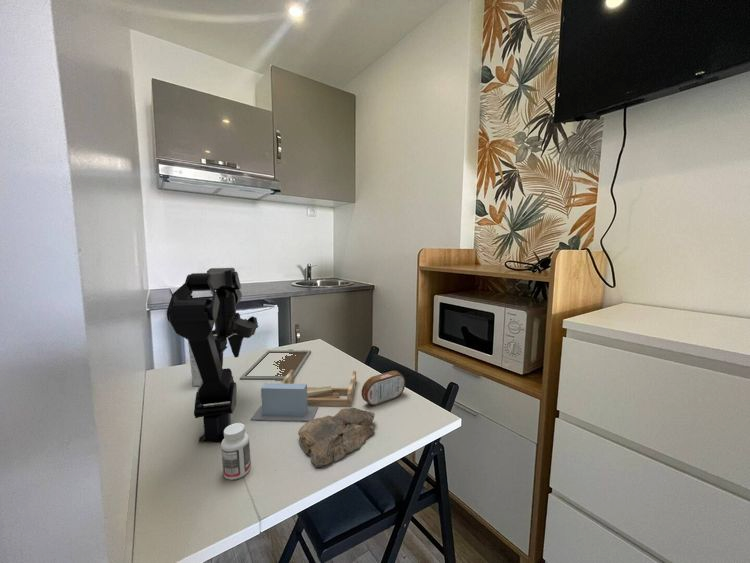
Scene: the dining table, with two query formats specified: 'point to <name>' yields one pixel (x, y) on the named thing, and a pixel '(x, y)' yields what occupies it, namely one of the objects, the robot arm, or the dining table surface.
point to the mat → (306, 418)
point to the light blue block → (284, 399)
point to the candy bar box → (195, 368)
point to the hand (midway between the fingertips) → (228, 363)
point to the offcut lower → (330, 396)
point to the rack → (332, 401)
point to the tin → (383, 387)
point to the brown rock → (335, 435)
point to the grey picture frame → (281, 365)
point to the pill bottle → (235, 451)
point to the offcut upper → (319, 392)
